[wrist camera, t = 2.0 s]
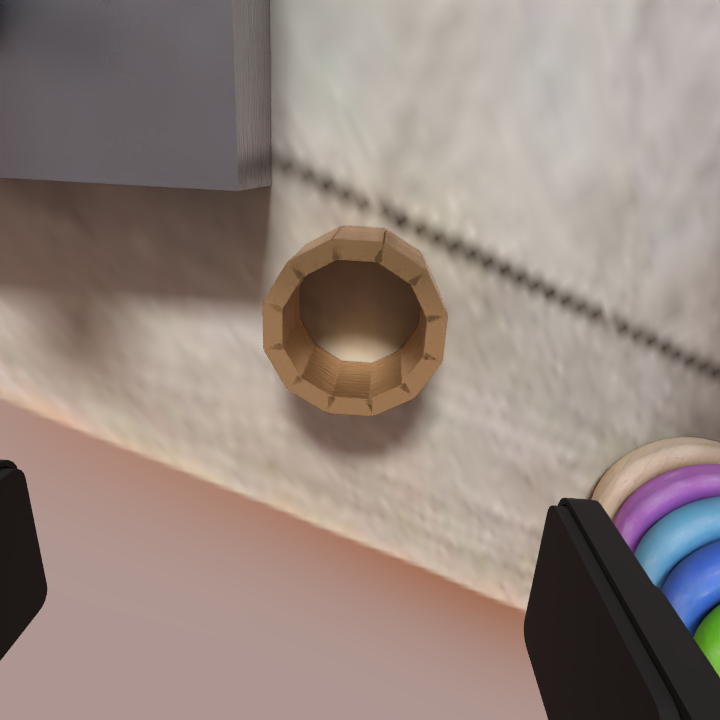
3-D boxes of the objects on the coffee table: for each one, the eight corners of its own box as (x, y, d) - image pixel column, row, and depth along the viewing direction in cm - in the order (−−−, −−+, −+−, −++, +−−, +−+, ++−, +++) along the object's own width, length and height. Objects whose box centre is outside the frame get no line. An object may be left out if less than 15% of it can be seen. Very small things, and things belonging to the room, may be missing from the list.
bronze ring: (445, 231, 22) (456, 245, 18) (429, 381, 25) (435, 420, 21) (283, 222, 22) (261, 234, 19) (283, 371, 25) (264, 408, 21)
